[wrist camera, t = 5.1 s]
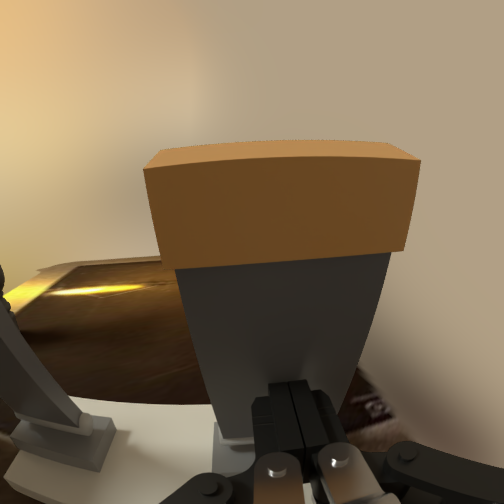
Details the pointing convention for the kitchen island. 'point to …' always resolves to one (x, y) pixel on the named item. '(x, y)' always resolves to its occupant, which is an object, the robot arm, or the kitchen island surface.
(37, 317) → the kitchen island surface
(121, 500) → the switch panel
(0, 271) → the candle holder
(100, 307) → the kitchen island surface
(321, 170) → the orange lever
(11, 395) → the grey lever
